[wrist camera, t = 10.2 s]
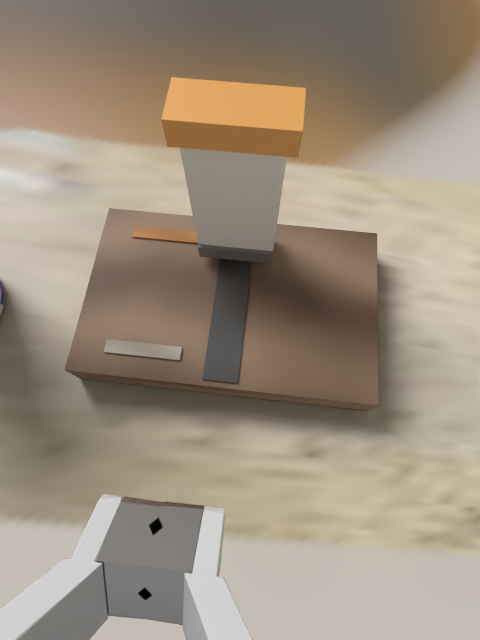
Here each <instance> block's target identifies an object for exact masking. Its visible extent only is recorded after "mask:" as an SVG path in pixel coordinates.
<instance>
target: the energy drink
mask: <svg viewBox="0 0 480 640" xmlns="http://www.w3.org/2000/svg"><path fill="white" fill-rule="evenodd" d="M4 300H5V294H4V288H3V285H2V283H1V281H0V315H1V313H2V310H3V307H4Z"/></svg>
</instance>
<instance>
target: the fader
mask: <svg viewBox="0 0 480 640" xmlns="http://www.w3.org/2000/svg"><path fill="white" fill-rule="evenodd" d="M305 94H306V88H299V87H286V86H274V85H261V84H249V83H236V82H224V81H223V82H222V81H211V80H197V79H186V78H173V77H172V78H171V82H170V86H169V90H168V94H167V99H166V103H165V107H164V111H163V115H162V124H163V128H164V133H165V137H166V142H167V146H168V147H180V150H181V155H182V160H183V166H184V171H185V176H186V181H187V187H188V192H189V197H190V202H191V207H192V213H193V218H194V223H195V228H196V234H197V239H198V250H199V255H200V257H208V258H219V259H229V260H239V261H249V262H259V263H269V264H271V262H272V255H273V247H274V240H275V233H276V226H277V219H278V213H279V206H280V199H281V192H282V185H283V178H284V172H285V165H286V158H287V157H295V158H298V155H299V148H300V143H301V138H302V133H303V121H304V107H305Z"/></svg>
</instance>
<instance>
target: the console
mask: <svg viewBox="0 0 480 640" xmlns="http://www.w3.org/2000/svg"><path fill="white" fill-rule="evenodd" d="M65 370H66V371H68V372H69V373H71V374H73V375H75V376H77V377H78V378H81V379H90V380H99V381H108V382H117V383H126V384H134V385H143V386H152V387H161V388H170V389H179V390H187V391H196V392H205V393H214V394H223V395H232V396H240V397H249V398H258V399H267V400H276V401H285V402H293V403H302V404H311V405H320V406H329V407H338V408H346V409H355V410H364V411H367V410H370V409H372V408H374V407H376V406H378V405H379V375H378V282H377V234H376V233H366V232H355V231H344V230H334V229H323V228H313V227H302V226H291V225H281V224H277V226H276V233H275V240H274V247H273V255H272V262H271V264H269V263H259V262H249V261H239V260H229V259H219V258H208V257H200V255H199V250H198V239H197V234H196V228H195V223H194V218H193V216H185V215H175V214H164V213H154V212H143V211H132V210H122V209H111V208H109V211H108V215H107V219H106V222H105V226H104V230H103V233H102V237H101V240H100V244H99V248H98V251H97V255H96V259H95V262H94V266H93V270H92V273H91V277H90V280H89V284H88V288H87V291H86V295H85V299H84V302H83V306H82V310H81V313H80V317H79V320H78V324H77V328H76V331H75V335H74V339H73V342H72V346H71V350H70V353H69V357H68V361H67V364H66V368H65Z"/></svg>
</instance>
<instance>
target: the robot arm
mask: <svg viewBox="0 0 480 640" xmlns="http://www.w3.org/2000/svg"><path fill="white" fill-rule="evenodd" d="M224 520H225V508H216V507H207V506H205V507H204V506H203V505H193V504H183V503H173V502H157V501H150V500H143V499H136V498H129V497H122V496H114V495H106V494H103V496H102V497H101V498H100V499H99V500H98V503H97V505H96V507H95V509H94V511H93V513H92V515H91V517H90V519H89V521H88V523H87V526H86V528H85V530H84V532H83V534H82V536H81V538H80V540H79V543H78V544H77V546H76V549H75V551H74V553H73V555H72V557H71V559H67V558H64V559H63V560H61V561H60V562H59V563H58V564H56V565H55V566H54V567H53V568H51V569H50V570H49V571H48V572H46V573H45V574H44V575H43V576H41V577H40V578H39V579H38V580H36V581H35V582H34V583H33V584H31V585H30V586H29V587H28V588H26V589H25V590H24V591H22V592H21V593H20V594H19V595H18V596H16V597H15V598H14V599H12V600H11V601H10V602H9V603H8V604H6V605H5V606H4V607H3V608H1V609H0V640H90V638H91V637H92V636H93V635H94V634H95V633H96V631H97V630H98V629H99V628H100V627H101V626H102V624H103V623H104V622H105V621H106V620H107V618H108V616H117V617H127V618H138V619H148V620H154V621H161V622H167V623H173V624H180V625H183V630H184V633H185V637H186V640H252V638H251V635H250V633H249V631H248V629H247V627H246V624H245V622H244V620H243V618H242V616H241V614H240V611H239V609H238V607H237V605H236V603H235V600H234V598H233V596H232V594H231V592H230V589H229V587H228V585H227V583H226V581H225V579H224V578H223V577H219V571H220V562H221V552H222V542H223V531H224Z"/></svg>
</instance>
